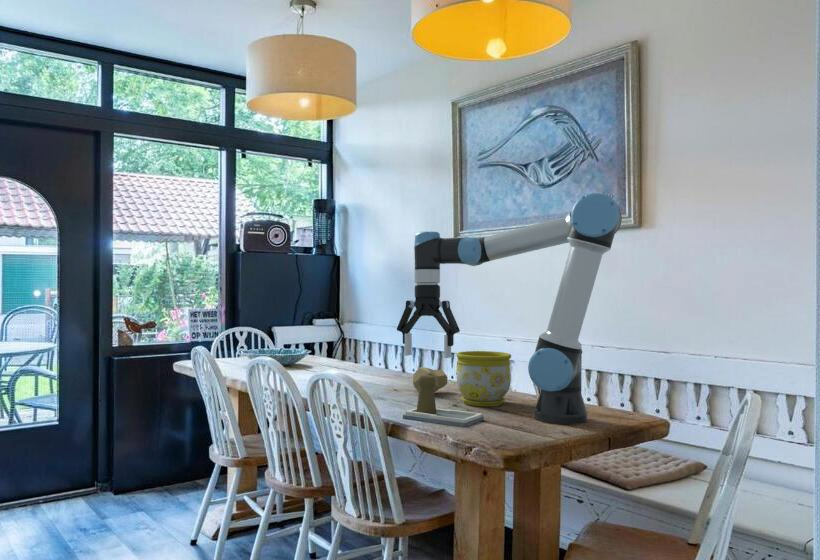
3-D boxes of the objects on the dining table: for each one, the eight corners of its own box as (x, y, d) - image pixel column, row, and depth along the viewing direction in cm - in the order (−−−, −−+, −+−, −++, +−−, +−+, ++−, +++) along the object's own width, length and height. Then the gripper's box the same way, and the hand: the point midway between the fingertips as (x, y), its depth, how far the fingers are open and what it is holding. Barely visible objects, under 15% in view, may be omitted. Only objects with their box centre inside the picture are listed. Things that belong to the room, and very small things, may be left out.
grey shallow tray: (483, 419, 185) (483, 413, 185) (463, 427, 175) (463, 420, 175) (424, 411, 196) (424, 405, 196) (402, 418, 186) (402, 412, 186)
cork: (434, 415, 185) (435, 377, 185) (414, 414, 186) (414, 376, 186) (438, 411, 191) (438, 374, 191) (418, 410, 192) (418, 373, 192)
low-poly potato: (412, 398, 222) (441, 384, 219) (402, 369, 226) (430, 355, 224) (428, 403, 235) (455, 390, 232) (417, 376, 240) (444, 363, 237)
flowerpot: (468, 396, 224) (469, 349, 224) (518, 401, 215) (518, 352, 215) (447, 404, 208) (447, 354, 208) (499, 410, 199) (500, 357, 199)
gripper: (470, 284, 185) (471, 357, 185) (399, 284, 199) (399, 353, 198) (458, 283, 179) (458, 359, 178) (385, 284, 192) (385, 355, 192)
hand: (427, 356), depth 188 cm, fingers open, 13 cm apart
